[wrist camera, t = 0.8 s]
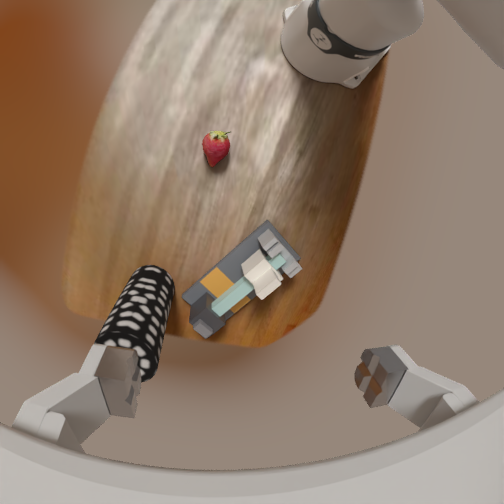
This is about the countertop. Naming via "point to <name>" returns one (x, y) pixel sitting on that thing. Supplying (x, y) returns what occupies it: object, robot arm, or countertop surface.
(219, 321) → the block
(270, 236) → the gray notched block
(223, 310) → the pale teal rod
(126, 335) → the white-spotted black cylinder
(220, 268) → the board
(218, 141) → the fruit
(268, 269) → the sleeve
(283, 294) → the countertop surface
